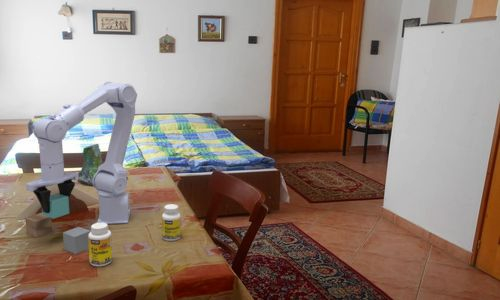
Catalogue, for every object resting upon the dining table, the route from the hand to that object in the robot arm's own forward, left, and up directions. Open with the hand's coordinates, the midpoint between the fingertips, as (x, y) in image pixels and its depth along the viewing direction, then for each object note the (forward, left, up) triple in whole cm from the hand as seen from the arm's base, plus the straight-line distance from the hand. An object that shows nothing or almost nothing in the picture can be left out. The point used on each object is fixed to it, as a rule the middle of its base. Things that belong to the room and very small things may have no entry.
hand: (55, 209), depth 119 cm
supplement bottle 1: (-14, +15, -10) cm, 23 cm away
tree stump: (-4, -58, -10) cm, 59 cm away
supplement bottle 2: (-32, +2, -10) cm, 34 cm away
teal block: (0, 0, -1) cm, 1 cm away
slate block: (-6, +6, -10) cm, 13 cm away
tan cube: (+7, -6, -10) cm, 13 cm away
